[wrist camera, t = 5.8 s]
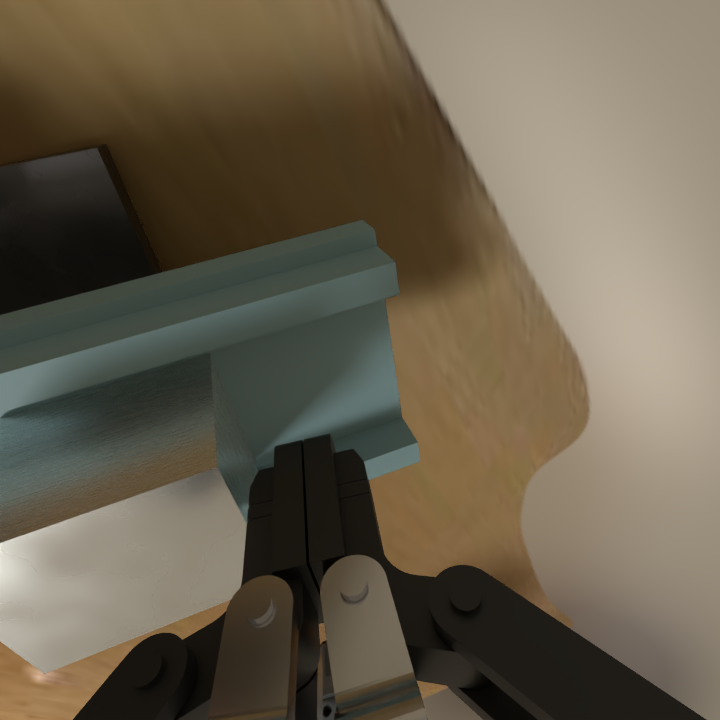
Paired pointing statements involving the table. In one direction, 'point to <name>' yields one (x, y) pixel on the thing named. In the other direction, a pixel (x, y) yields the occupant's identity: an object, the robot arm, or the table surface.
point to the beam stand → (67, 229)
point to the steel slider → (120, 512)
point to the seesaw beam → (238, 342)
